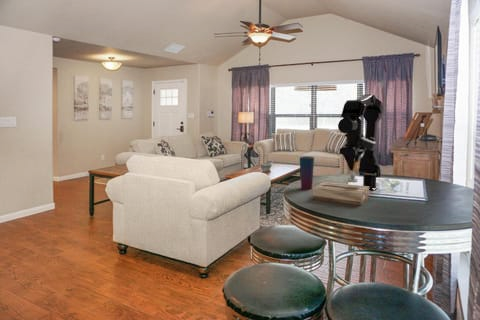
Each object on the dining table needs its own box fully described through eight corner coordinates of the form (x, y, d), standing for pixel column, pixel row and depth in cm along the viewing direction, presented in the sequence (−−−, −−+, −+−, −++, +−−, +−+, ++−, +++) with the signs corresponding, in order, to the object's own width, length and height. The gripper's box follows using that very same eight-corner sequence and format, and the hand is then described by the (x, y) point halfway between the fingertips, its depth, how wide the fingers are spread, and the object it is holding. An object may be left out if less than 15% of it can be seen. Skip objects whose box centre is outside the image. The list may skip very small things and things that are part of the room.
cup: (313, 190, 168) (314, 158, 166) (299, 189, 170) (299, 158, 168) (313, 187, 175) (314, 156, 173) (299, 186, 176) (299, 156, 174)
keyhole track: (323, 192, 163) (323, 181, 163) (369, 198, 153) (369, 186, 152) (312, 199, 153) (312, 187, 152) (361, 205, 142) (361, 193, 141)
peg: (349, 180, 152) (349, 160, 150) (358, 181, 150) (359, 160, 148) (346, 181, 148) (346, 161, 147) (356, 182, 146) (356, 162, 145)
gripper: (369, 133, 134) (367, 175, 136) (379, 130, 149) (378, 167, 152) (339, 133, 140) (338, 172, 142) (352, 129, 155) (351, 165, 158)
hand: (352, 169), depth 148 cm, fingers closed on peg, 4 cm apart
